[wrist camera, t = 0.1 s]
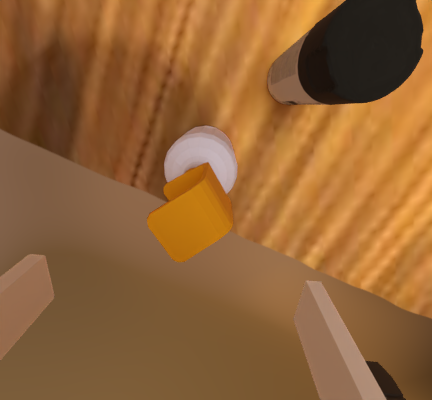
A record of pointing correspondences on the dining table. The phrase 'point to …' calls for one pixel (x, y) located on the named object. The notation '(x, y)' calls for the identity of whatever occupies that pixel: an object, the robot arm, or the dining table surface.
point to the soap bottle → (195, 193)
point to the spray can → (351, 55)
